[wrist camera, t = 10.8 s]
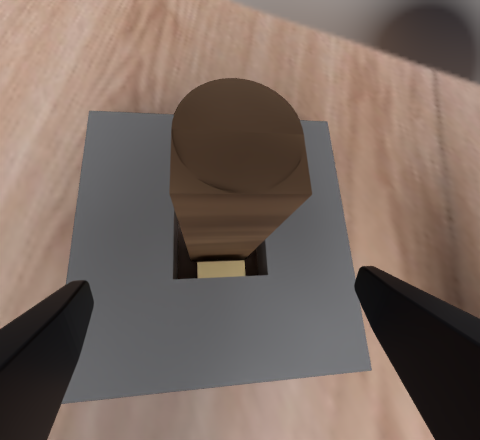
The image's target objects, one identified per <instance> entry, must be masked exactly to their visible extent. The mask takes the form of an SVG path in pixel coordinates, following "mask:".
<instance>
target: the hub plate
mask: <svg viewBox="0 0 480 440" xmlns="http://www.w3.org/2000/svg"><path fill="white" fill-rule="evenodd" d="M173 117H174V115H172V114H151V113H129V112H107V111H89V117H88V124H87V131H86V139H85V146H84V154H83V161H82V169H81V176H80V183H79V191H78V198H77V206H76V213H75V221H74V228H73V235H72V243H71V250H70V258H69V265H68V273H67V280H66V284H68V283H69V282H71V281H75V280H86V281H88V282H89V285H90V288H91V292H92V296H93V299H94V307H93V311H92V315H91V318H90V322H89V326H88V329H87V333H86V337H85V340H84V344H83V347H82V351H81V354H80V357H79V360H78V363H77V365H76V368H75V370H74V373H73V375H72V378H71V381H70V383H69V386H68V388H67V391H66V393H65V396H64V398H63V401H62V403H61V404H65V403H75V402H84V401H93V400H102V399H112V398H121V397H130V396H139V395H149V394H158V393H167V392H176V391H186V390H195V389H204V388H213V387H223V386H232V385H241V384H250V383H260V382H269V381H278V380H287V379H297V378H306V377H315V376H325V375H334V374H343V373H352V372H362V371H371V370H372V368H371V363H370V357H369V352H368V346H367V341H366V335H365V329H364V324H363V318H362V313H361V307H360V301H359V299H358V297H357V295H356V292H355V289H354V283H355V280H356V279H355V274H354V268H353V262H352V257H351V251H350V246H349V240H348V234H347V229H346V223H345V218H344V212H343V207H342V201H341V195H340V190H339V184H338V179H337V173H336V167H335V162H334V156H333V151H332V145H331V140H330V134H329V128H328V123H327V122H326V121H304V120H300V122H301V125H302V128H303V133H304V139H305V146H306V153H307V160H308V167H309V174H310V181H311V188H312V195H311V196H310V197H309V198H308V199H307V200H306V201H305V202H304V203H303V204H302V205H301V206H300V207H299V208H298V209H297V210H296V211H295V212H293V213H292V214H291V215H290V216H289V217H288V218H287V219H286V220H285V221H284V222H283V223H282V224H281V225H280V226H279V227H278V228H277V229H276V230H275V231H274V232H273V233H272V234H270V235H269V236H268V237H267V238H266V239H265V240H264V241H263V242H262V243H261V244H260V245H259V246H258V247H257V248H256V249H257V263H258V276H245V263H244V260H243V261H215V262H197V272H198V278H194V279H177V271H178V219H177V216H176V213H175V210H174V207H173V203H172V200H171V197H170V194H169V188H170V156H171V127H172V120H173Z"/></svg>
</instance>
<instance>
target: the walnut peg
mask: <svg viewBox="0 0 480 440" xmlns="http://www.w3.org/2000/svg"><path fill="white" fill-rule="evenodd" d="M169 194H170V197H171V200H172V203H173V207H174V210H175V213H176V216H177V219H178V222H179V225H180V228H181V231H182V234H183V238H184V241H185V244H186V247H187V250H188V253H189V256H190V259H191V261H217V260H244V259H245V258H246V257H247V256H249V255H250V254H251V253H252V252H253V251H254V250H255V249H256V248H257V247H258V246H259V245H260V244H261V243H262V242H263V241H264V240H265V239H266V238H267V237H268V236H269V235H270V234H272V233H273V232H274V231H275V230H276V229H277V228H278V227H279V226H280V225H281V224H282V223H283V222H284V221H285V220H286V219H287V218H288V217H289V216H290V215H291V214H292V213H293V212H295V211H296V210H297V209H298V208H299V207H300V206H301V205H302V204H303V203H304V202H305V201H306V200H307V199H308V198H309V197H310V196H311V195H312V188H311V181H310V174H309V167H308V160H307V153H306V146H305V139H304V133H303V128H302V125H301V122H300V120H299V118H298V116H297V114H296V112H295V111H294V109H293V108H292V107H291V105H290V104H289V103H288V102H287V101H286V100H285V99H284V98H283V97H282V96H280V95H279V94H278V93H276V92H275V91H273V90H272V89H270V88H268V87H266V86H264V85H262V84H259V83H257V82H254V81H250V80H245V79H237V78H227V79H219V80H214V81H210V82H207V83H205V84H203V85H200V86H198V87H197V88H195V89H194V90H192V91H191V92H190V93H189V94H187V95H186V96H185V97H184V99H183V100H182V101H181V102H180V104H179V105H178V107H177V109H176V111H175V113H174V117H173V120H172V127H171V156H170V188H169Z"/></svg>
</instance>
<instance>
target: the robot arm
mask: <svg viewBox="0 0 480 440" xmlns="http://www.w3.org/2000/svg"><path fill="white" fill-rule="evenodd" d="M354 289H355V292H356V295H357V297H358V299H359V301H360V303H361V306H362V308H363V310H364V312H365V315H366V317H367V319H368V321H369V323H370V326H371V328H372V330H373V332H374V333H375V335H376V337H377V339H378V341H379V342H380V344H381V346H382V348H383V349H384V351H385V353H386V355H387V356H388V358H389V360H390V362H391V363H392V365H393V367H394V369H395V370H396V372H397V374H398V376H399V377H400V379H401V381H402V383H403V384H404V386H405V388H406V390H407V391H408V393H409V395H410V397H411V398H412V400H413V402H414V404H415V405H416V407H417V409H418V411H419V412H420V414H421V416H422V418H423V420H424V421H425V423H426V425H427V427H428V428H429V430H430V432H431V434H432V435H433V437H434V439H435V440H480V319H479V318H477V317H475V316H473V315H471V314H469V313H467V312H465V311H463V310H461V309H459V308H457V307H455V306H453V305H451V304H449V303H447V302H445V301H443V300H441V299H439V298H437V297H435V296H432V295H430V294H428V293H426V292H424V291H422V290H420V289H418V288H416V287H414V286H412V285H410V284H408V283H406V282H404V281H402V280H400V279H398V278H396V277H394V276H392V275H390V274H388V273H386V272H384V271H382V270H380V269H378V268H376V267H374V266H363V267H361V268H360V269H359V271H358V274H357V277H356V280H355V283H354ZM93 307H94V299H93V296H92V292H91V288H90V285H89V282H88V281H86V280H75V281H71V282H69V283H68V284H66V285H65V286H63V287H62V288H60V289H59V290H57V291H56V292H54V293H53V294H51V295H50V296H49V297H47V298H46V299H44V300H43V301H41V302H40V303H38V304H37V305H35V306H34V307H32V308H31V309H29V310H28V311H26V312H25V313H23V314H22V315H20V316H19V317H17V318H16V319H14V320H13V321H12V322H10V323H9V324H7V325H6V326H4V327H3V328H1V329H0V440H47V438H48V436H49V433H50V431H51V428H52V426H53V423H54V421H55V418H56V416H57V413H58V411H59V408H60V406H61V403H62V401H63V398H64V396H65V393H66V391H67V388H68V386H69V383H70V381H71V378H72V375H73V373H74V370H75V368H76V365H77V363H78V360H79V357H80V354H81V351H82V347H83V344H84V340H85V337H86V333H87V329H88V326H89V322H90V318H91V315H92V311H93Z"/></svg>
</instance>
